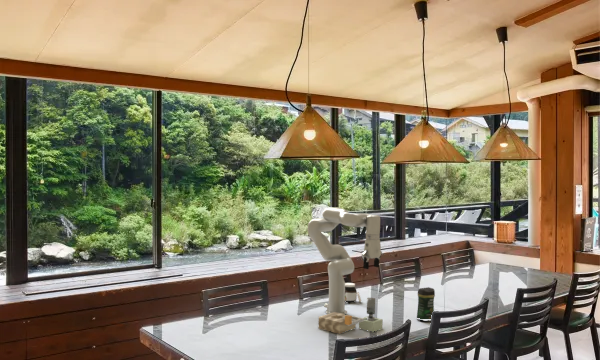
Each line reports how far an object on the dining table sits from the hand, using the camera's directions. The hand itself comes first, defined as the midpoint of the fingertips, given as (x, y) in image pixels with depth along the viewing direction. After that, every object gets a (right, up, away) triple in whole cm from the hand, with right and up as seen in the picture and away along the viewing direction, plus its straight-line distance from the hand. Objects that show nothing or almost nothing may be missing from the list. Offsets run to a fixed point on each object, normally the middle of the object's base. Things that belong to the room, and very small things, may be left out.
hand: (371, 267), depth 271 cm
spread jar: (-5, -31, +47) cm, 57 cm away
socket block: (-20, -30, -12) cm, 38 cm away
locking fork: (-15, -24, -22) cm, 35 cm away
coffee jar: (+32, -32, +7) cm, 45 cm away
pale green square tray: (-2, -30, -12) cm, 33 cm away
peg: (-2, -30, -11) cm, 33 cm away
